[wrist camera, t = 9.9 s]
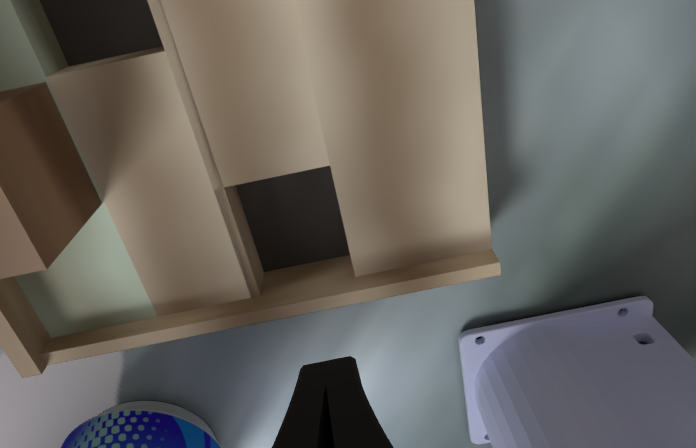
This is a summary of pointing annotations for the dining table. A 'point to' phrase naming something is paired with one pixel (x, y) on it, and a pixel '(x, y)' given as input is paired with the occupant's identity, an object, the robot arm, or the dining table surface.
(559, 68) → the dining table surface
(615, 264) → the dining table surface
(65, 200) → the walnut block
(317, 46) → the divided beige tray
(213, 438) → the beer can
